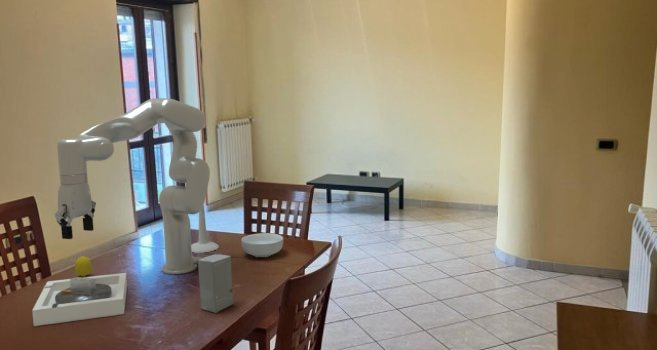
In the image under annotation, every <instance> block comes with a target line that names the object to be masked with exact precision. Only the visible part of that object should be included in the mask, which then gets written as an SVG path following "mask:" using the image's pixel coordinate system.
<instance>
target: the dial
mask: <svg viewBox="0 0 657 350" xmlns="http://www.w3.org/2000/svg"><path fill="white" fill-rule="evenodd" d="M69 279H70V288H67V289H65V290H62V291H61V292H59V293H58V294H57V295H56V296H55V303H56V304H57V303H58V304H66V303H74V302H82V301H90V300H98V299H106V298H109V297H110V296H111V294H112V291H111V287H110V286H108V285H105V284H97V283H95V278H84V277H82V276H81V277H80V276H75V277H73V278H69Z"/></svg>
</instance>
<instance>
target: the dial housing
mask: <svg viewBox="0 0 657 350" xmlns="http://www.w3.org/2000/svg"><path fill="white" fill-rule="evenodd" d="M83 278H95V283H97V284H105V285H108V286H110V287H111V291H112V294H111V296H110V297H109V298H106V299H98V300H90V301H82V302H74V303H66V304H58V303H57V304H56V303H55V296H56V295H57V294H58V293H59V292H61V291H62V290H65V289H67V288H70V279H71V278H67V279H58V280H49V281H47V282H46V284H45V285H44V286H43V289H42V291H41V293H40V295H39V297H38V299H37V300H36V303H35V304H34V305H33V308H32V313H31V314H32V320H33V321H32V322H33V326H34V327H38V326H46V325H54V324H60V323H69V322H73V321H76V322H77V321H81V320H88V319H96V318H103V317H105V318H106V317H112V316H119V315H125V309H126V308H125V307H126V299H127V289H128V282H127V280H128V279H127V272H121V273H113V274H111V273H110V274H103V275H94V276H85V277H83Z"/></svg>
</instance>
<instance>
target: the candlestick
mask: <svg viewBox="0 0 657 350" xmlns="http://www.w3.org/2000/svg"><path fill="white" fill-rule="evenodd" d="M206 223H207V222H206V215H205V204H204V205H203V208H202V209H201V211H200V212H198V241H197V242H193V243H191V248H192V252H194V253H193V254H205V253H204V252H209V253H211V252H210V251H213V252H215V251H214V250H216V251H218V250H217V249H218V248H219V249H220V246H219V244H217V243H216V242H213V241H208V234H207V233H208V232H207V224H206Z"/></svg>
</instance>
